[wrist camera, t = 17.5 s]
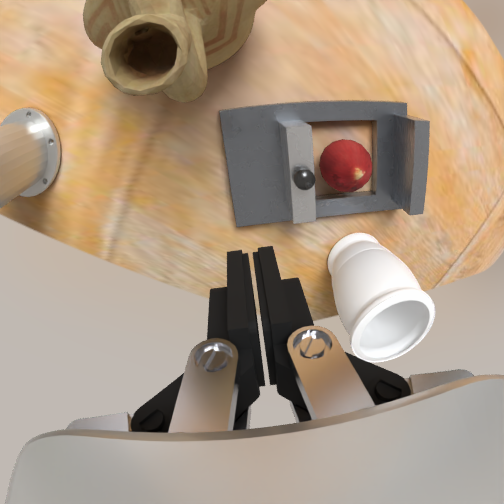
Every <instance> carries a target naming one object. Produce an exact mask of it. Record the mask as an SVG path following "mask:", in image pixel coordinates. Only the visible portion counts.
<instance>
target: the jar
mask: <svg viewBox="0 0 504 504" xmlns="http://www.w3.org/2000/svg"><path fill="white" fill-rule="evenodd" d="M328 270H329V272H330V274H331V276H332V287H333V292H334V299H335V304H336V308H337V311H338V314H339V317H340V319H341V321H342V323H343V325H344V327H345V329H346V330H347V332H348V333H349V335H350V344H351V348H352V350H353V352H354V354H355V355H356V356H357V357H358V358H360V359H362V360H365V361H368V362H382V361H387V360H390V359H394V358H396V357H398V356H401V355H402V354H404V353H406V352H408V351H409V350H410V349H412V348H413V347H414V346H416V345H417V344H418V343H419V342H420V341H421V340H422V339H423V338H424V337H425V335H426V334H427V333H428V331H429V329H430V328H431V326H432V324H433V321H434V318H435V305H434V303H433V301H432V299H431V298H430V297H429V295H428V294H427V293H425V292H424V291H422V290H421V288H420V286H419V284H418V282H417V280H416V278H415V276H414V275H413V273H412V272H411V270H410V269H409V268H408V267H407V266H406V265H405V263H404V262H402V261H401V260H400V259H399V258H398V257H397V256H395V255H394V254H393V253H391V252H390V251H389V250H388V249H387V248H385V247H383V246H382V245H380V244H379V242H378V241H377V240H376V239H375V238H374V237H373V236H371V235H369V234H366V233H353V234H350V235H347V236H345V237H344V238H342V239H341V240H339V241H338V242H337V243H336V244H335V245H334V247H333V248H332V250H331V252H330V254H329V257H328Z"/></svg>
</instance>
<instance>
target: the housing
mask: <svg viewBox="0 0 504 504" xmlns="http://www.w3.org/2000/svg"><path fill="white" fill-rule="evenodd" d="M219 112H220V119H221V126H222V133H223V140H224V146H225V153H226V160H227V166H228V173H229V180H230V186H231V193H232V199H233V206H234V212H235V219H236V225H237V227H241V226H249V225H257V224H265V223H273V222H282V221H290V220H292V218H291V216H290V213H289V211H288V208H287V206H286V194H285V182H284V170H283V159H282V148H281V137H280V127H279V122H284V121H297V120H301V121H303V122H315V121H339V120H372V191H363V192H351V193H340V194H329V195H319V196H315V202H316V217H325V216H334V215H343V214H353V213H363V212H373V211H383V210H393V209H403V210H404V211H405V212H406V213H407V214H409V215H417V214H423V210H424V202H425V193H426V182H427V170H428V155H429V123H430V121H427V120H423V119H420V118H416V117H413V116H409V115H407V103H403V102H391V101H359V100H340V101H307V102H290V103H277V104H266V105H257V106H248V107H240V108H232V109H225V110H220V111H219Z"/></svg>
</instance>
